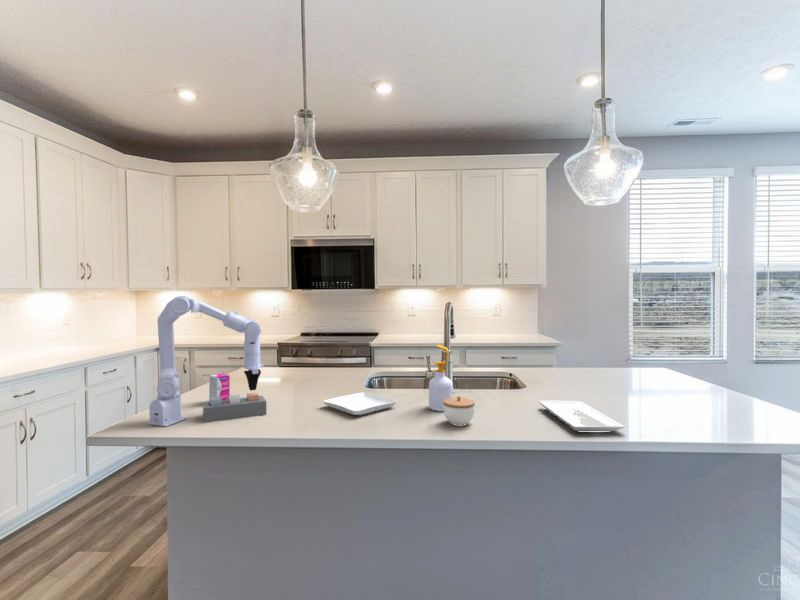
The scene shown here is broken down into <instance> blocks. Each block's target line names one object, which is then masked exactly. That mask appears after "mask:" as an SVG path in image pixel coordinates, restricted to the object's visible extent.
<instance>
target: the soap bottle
mask: <svg viewBox="0 0 800 600" xmlns="http://www.w3.org/2000/svg"><path fill="white" fill-rule="evenodd" d="M435 347H436V348H439V349H442V350H443V351H445V352H446V361H435V362H434V365H436V366H437V368H438V369H436V373H435V374H436V375H435V376H434V377H432V378H431V379H430V380H429V383H428V409H430V410H431V409H432V410H431V411H434V410H436V412H444V404H443V401H444V400H445V399H447V398H453V382H452V380H451V379H450V378H449V377H447V376H446V370H445V369H444V367H445V365H447V364H448V363H449V361H450V359H449V357H450V356H449V353H450V352H449V351H450V350H449V348H448V347H446V346H443V345H440V344H436V346H435Z"/></svg>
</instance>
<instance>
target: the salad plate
mask: <svg viewBox="0 0 800 600" xmlns="http://www.w3.org/2000/svg"><path fill="white" fill-rule="evenodd" d="M397 403H398V401H397V400H395V399H393V398H388V397H385V396H382V395H377V394H374V393H373V394H372V393H369V392H365V391H364V392H363V391H362V392H358V393H357V392H356V393H352V394H346V395H342V396H337V397H333V398H329V399H325V400H323V404H324V405H326V406H328V407H330V408H332V409H335V410H336V411H339V410H340V412H343V413H345V412H346V413H345V414H348V413H349V414H348V415H351V414H352V415H351V416H356V415H359V416H364V415H367V414H366V413H368V414H371V413H370V412H372V413H375V412H374V411H376V412H379V411H378V410H380V411H383V410H386V409H389V408H392V407H393V406H395V405H396V404H397ZM382 409H383V410H382ZM363 414H364V415H363Z"/></svg>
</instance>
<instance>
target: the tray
mask: <svg viewBox="0 0 800 600" xmlns="http://www.w3.org/2000/svg"><path fill="white" fill-rule="evenodd" d="M538 403H539V404H540V405H541V406H542V407H543V408H545V409H546V410H547V411H548V412H549V411H550V412H551V413H550V412H549V413H550V414H552V415H553V414H554V415H553V416H555V417H556V416H557V417H558V419H559V420H560V419H561V420H562V421H561V420H560V421H561V422H562V423H564V422H565V423H566V424H565V423H564V424H565V425H567V424H568V425H569V426H568V425H567V426H568V427H569V428H571V427H572V428H573V429H572V428H571V429H572V430H573V431H575V430H576V431H611V432H615V431H619V430H622V429H623V428H624V429H625V426H624V425H623V424H622V423H619V422H618V421H615V420H614V419H612V418H611V417H609V416H607V415H605V414H603V413H602V412H600V411H598V410H597V409H595V408H593V407H592V406H589V405H588V404H586V403H585V402H583V401H580V400H538ZM574 409H575V411H577V410H579V411H581V412H583V413H584V414H587V415H588V416H590V417H592V418H594V419H596V420H598V421H600V422H601V423H603V424H605V425H607V426H585V425H583V424H581V423H580V422H581V421H580V419H579V417H580V418H581V416H579V417H578V416H577V415H575V414H574V415H575V416H574V415H573V413H574V412H575V411H574ZM576 413H577V412H576ZM579 413H580V412H579ZM577 414H578V413H577ZM557 417H556V418H557ZM583 418H584V417H583ZM581 419H582V418H581ZM584 419H585V418H584ZM576 431H575V432H576Z"/></svg>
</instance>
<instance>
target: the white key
mask: <svg viewBox="0 0 800 600" xmlns="http://www.w3.org/2000/svg"><path fill="white" fill-rule="evenodd" d="M240 398H241V395H240V394H233V395H230V396H229V404H232V403H240Z"/></svg>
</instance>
